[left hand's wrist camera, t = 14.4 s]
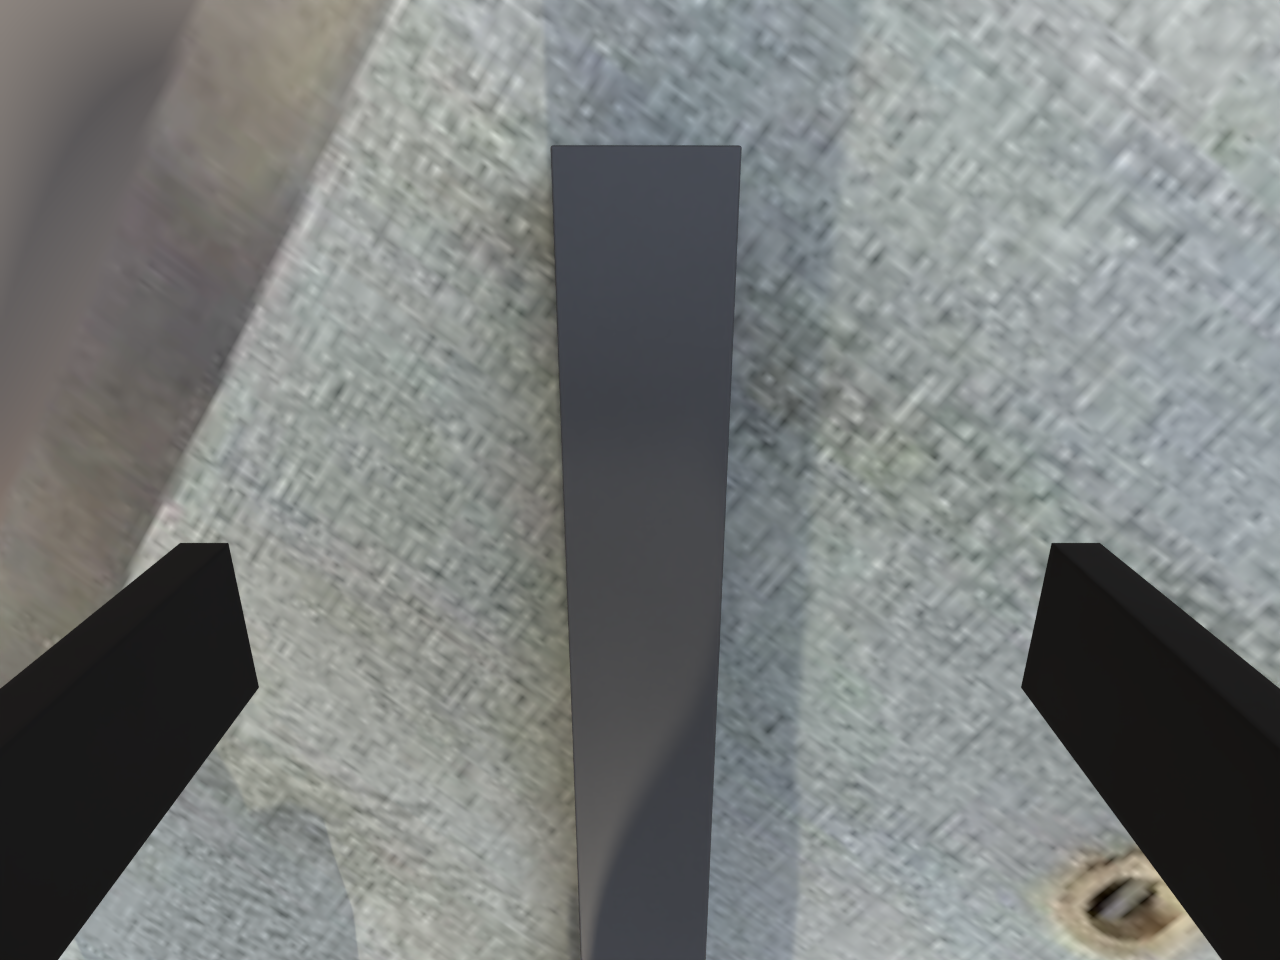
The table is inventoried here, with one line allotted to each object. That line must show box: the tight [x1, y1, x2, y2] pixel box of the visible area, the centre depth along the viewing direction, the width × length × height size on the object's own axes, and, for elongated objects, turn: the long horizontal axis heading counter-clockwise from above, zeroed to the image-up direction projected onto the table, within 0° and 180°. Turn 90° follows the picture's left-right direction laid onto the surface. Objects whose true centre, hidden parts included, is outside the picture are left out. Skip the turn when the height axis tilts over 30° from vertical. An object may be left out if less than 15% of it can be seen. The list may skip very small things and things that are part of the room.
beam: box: [551, 145, 741, 960], centre depth 36 cm, size 51×6×8 cm, turn 0°
